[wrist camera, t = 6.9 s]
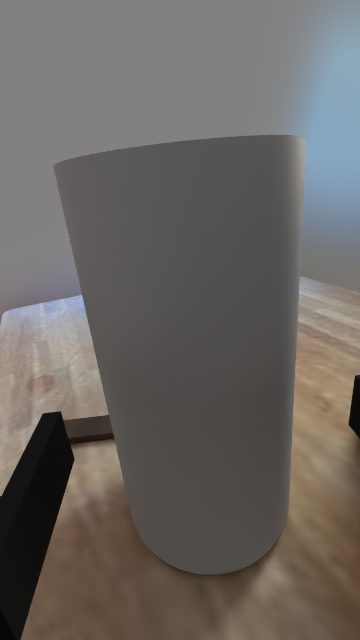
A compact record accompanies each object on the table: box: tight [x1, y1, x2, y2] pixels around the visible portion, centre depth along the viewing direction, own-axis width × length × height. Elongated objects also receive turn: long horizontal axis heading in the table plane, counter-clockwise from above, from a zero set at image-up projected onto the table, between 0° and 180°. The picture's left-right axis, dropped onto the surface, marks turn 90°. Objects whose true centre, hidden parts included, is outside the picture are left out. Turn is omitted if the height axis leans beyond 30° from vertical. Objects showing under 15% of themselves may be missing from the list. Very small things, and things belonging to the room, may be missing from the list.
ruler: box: [64, 415, 114, 444], centre depth 35 cm, size 24×3×1 cm, turn 94°
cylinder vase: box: [54, 135, 306, 575], centre depth 22 cm, size 12×12×25 cm
